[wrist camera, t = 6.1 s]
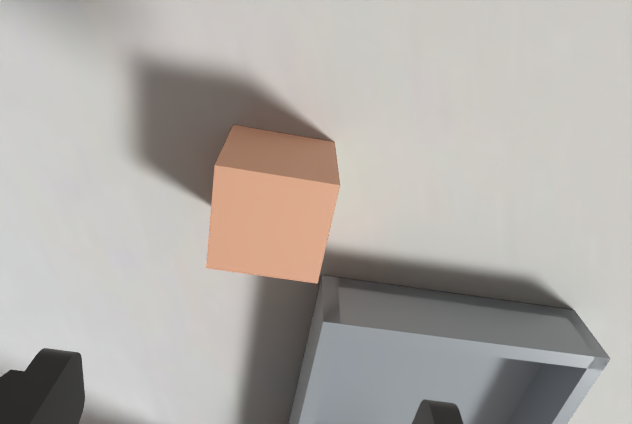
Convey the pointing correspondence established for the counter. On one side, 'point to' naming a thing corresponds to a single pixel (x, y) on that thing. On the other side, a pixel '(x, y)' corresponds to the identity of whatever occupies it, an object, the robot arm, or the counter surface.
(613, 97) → the counter surface
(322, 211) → the terracotta cube
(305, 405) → the slate tray
